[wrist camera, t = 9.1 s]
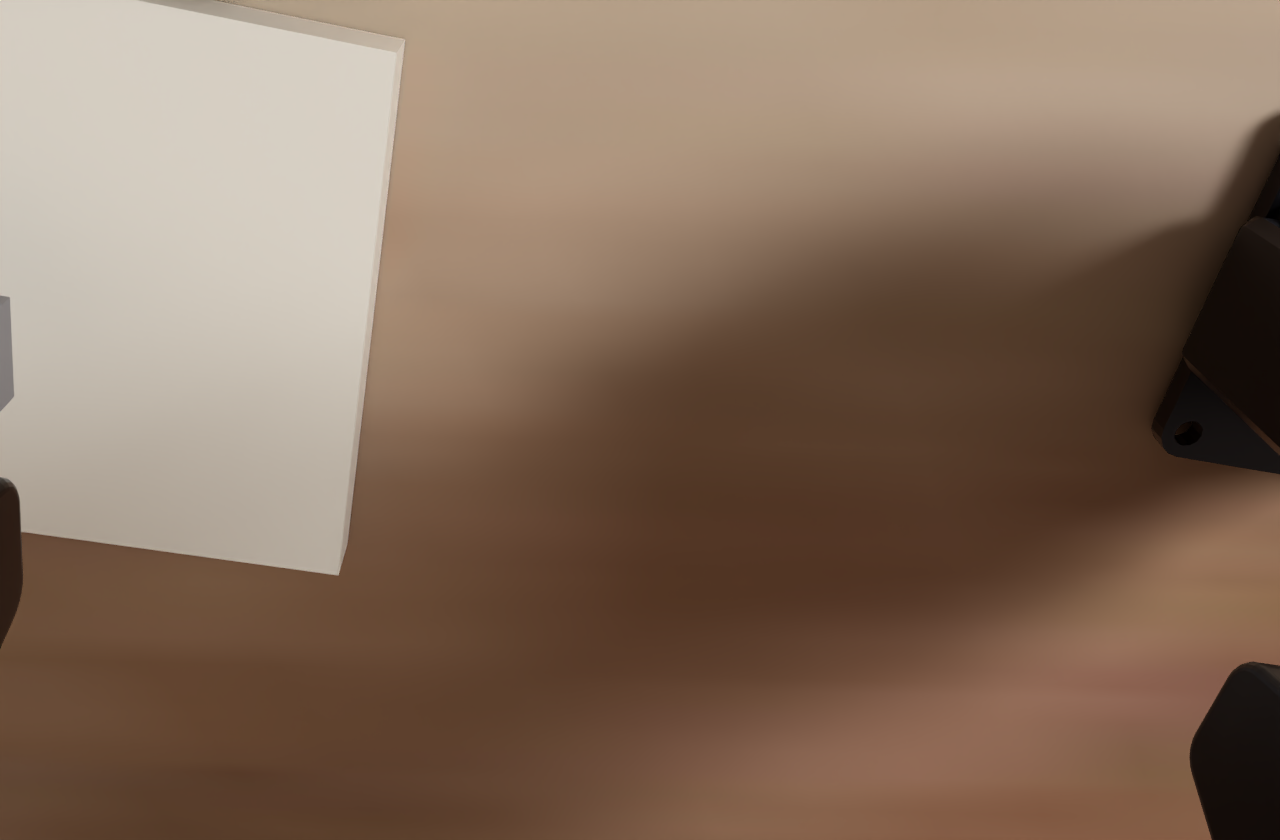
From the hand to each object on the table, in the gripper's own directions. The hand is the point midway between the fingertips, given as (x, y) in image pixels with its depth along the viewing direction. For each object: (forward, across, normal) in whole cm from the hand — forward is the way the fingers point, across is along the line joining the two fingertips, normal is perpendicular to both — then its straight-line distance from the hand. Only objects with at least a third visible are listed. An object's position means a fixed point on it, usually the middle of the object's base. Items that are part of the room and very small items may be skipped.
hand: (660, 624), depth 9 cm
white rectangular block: (+12, +10, +4) cm, 16 cm away
